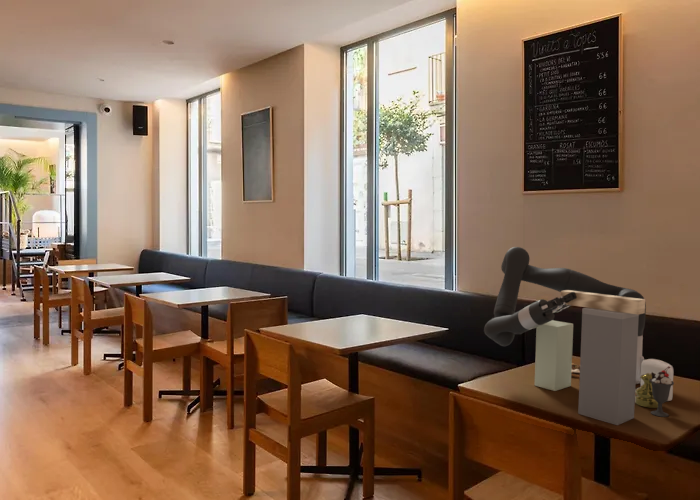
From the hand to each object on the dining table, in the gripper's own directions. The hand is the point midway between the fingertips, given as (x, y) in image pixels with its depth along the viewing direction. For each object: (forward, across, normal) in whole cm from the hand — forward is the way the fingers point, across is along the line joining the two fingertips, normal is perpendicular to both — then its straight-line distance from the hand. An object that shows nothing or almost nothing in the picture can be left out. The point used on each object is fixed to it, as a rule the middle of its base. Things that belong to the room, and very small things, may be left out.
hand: (579, 294), depth 180 cm
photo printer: (-8, +32, +36) cm, 49 cm away
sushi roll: (-36, +37, +21) cm, 56 cm away
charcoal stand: (-9, 0, +36) cm, 37 cm away
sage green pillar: (-32, +15, +22) cm, 42 cm away
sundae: (-1, +15, +40) cm, 43 cm away
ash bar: (+4, 0, +6) cm, 8 cm away
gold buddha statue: (-7, +21, +37) cm, 43 cm away
